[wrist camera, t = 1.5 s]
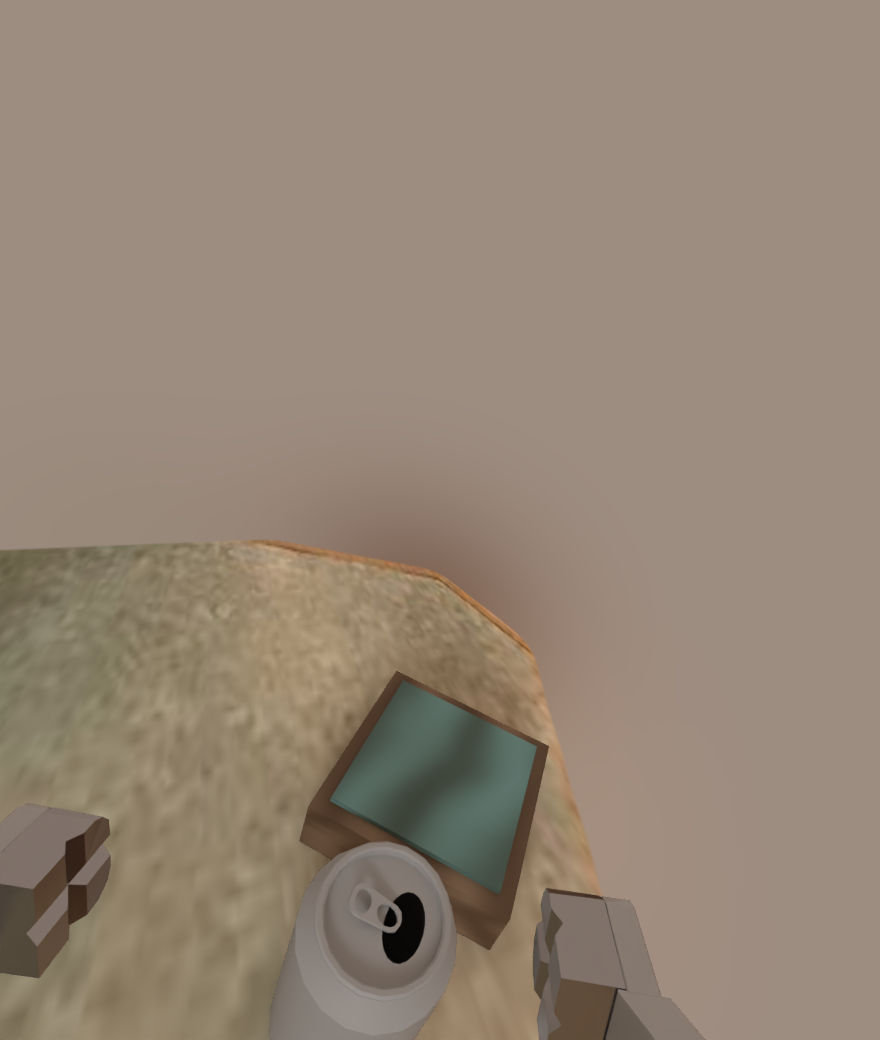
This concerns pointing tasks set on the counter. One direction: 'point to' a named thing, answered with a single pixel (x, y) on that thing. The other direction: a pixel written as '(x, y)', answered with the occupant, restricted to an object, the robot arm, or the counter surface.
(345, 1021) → the can
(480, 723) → the plinth
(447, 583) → the counter surface
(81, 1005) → the counter surface
